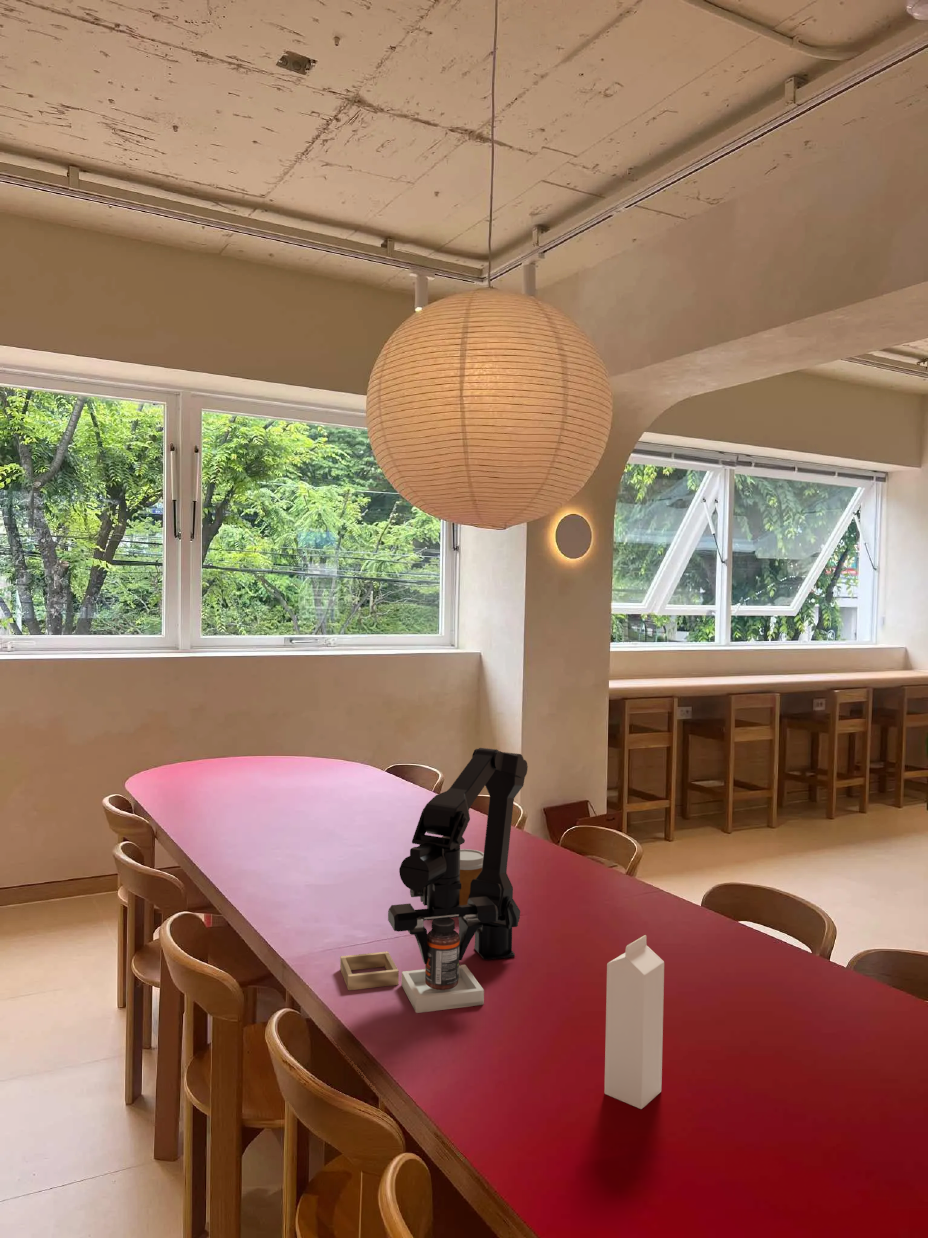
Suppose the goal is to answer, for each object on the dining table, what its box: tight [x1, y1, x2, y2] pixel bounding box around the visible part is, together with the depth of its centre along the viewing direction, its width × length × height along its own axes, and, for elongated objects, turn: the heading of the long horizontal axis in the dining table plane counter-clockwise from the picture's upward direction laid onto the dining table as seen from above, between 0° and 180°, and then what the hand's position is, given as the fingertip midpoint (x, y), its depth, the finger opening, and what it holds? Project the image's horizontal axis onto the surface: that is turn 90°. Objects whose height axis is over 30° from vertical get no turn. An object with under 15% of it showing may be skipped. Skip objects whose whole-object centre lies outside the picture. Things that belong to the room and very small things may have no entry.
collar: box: [339, 951, 400, 991], centre depth 164 cm, size 9×9×2 cm
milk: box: [604, 934, 665, 1110], centre depth 127 cm, size 6×6×22 cm
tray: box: [401, 964, 485, 1014], centre depth 157 cm, size 12×11×2 cm
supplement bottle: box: [424, 918, 460, 990], centre depth 157 cm, size 6×6×11 cm
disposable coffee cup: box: [459, 848, 484, 905], centre depth 201 cm, size 10×10×12 cm
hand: (442, 961), depth 157 cm, fingers closed on supplement bottle, 6 cm apart
